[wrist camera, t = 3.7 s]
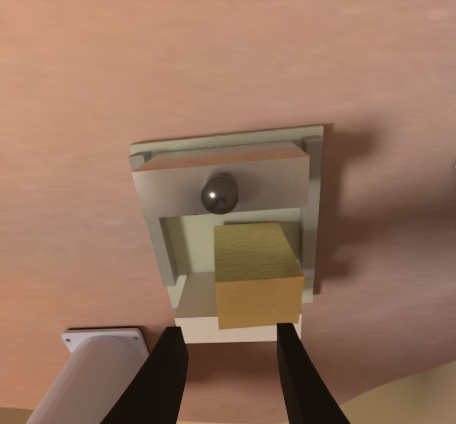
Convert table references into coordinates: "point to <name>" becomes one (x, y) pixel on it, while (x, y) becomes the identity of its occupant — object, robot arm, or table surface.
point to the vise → (204, 224)
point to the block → (255, 276)
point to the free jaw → (224, 180)
